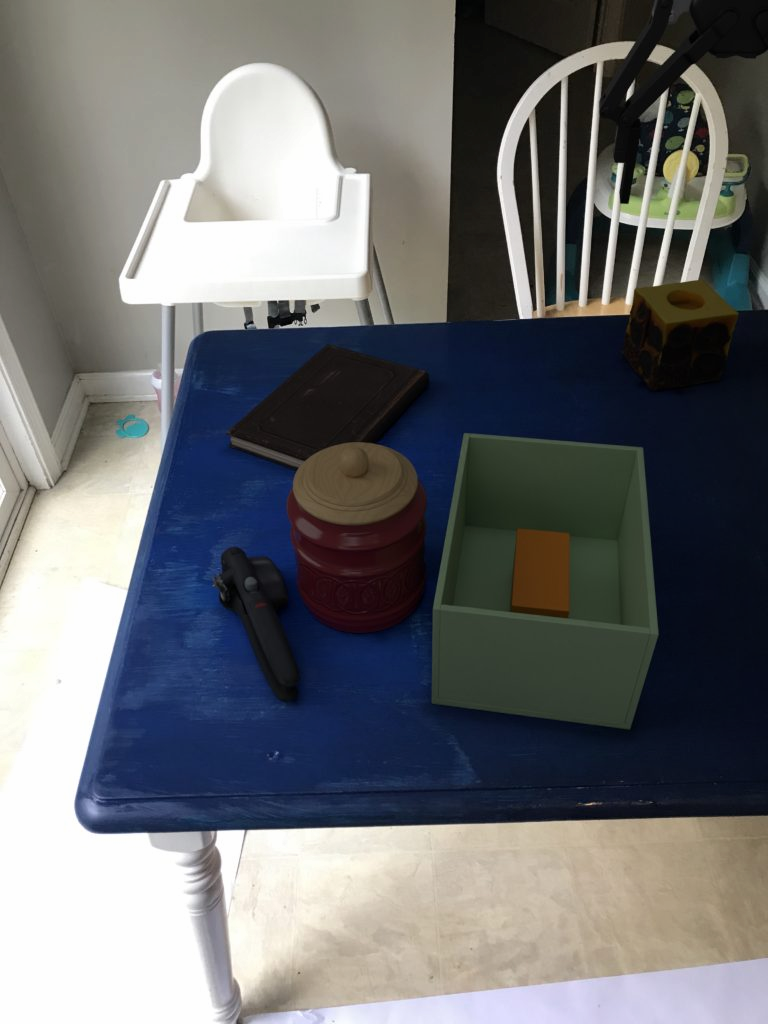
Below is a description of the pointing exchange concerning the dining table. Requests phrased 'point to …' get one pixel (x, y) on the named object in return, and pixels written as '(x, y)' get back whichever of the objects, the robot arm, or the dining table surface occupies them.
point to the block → (541, 573)
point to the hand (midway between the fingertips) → (700, 201)
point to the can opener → (260, 615)
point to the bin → (592, 583)
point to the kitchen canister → (358, 536)
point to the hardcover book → (328, 406)
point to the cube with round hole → (678, 334)
